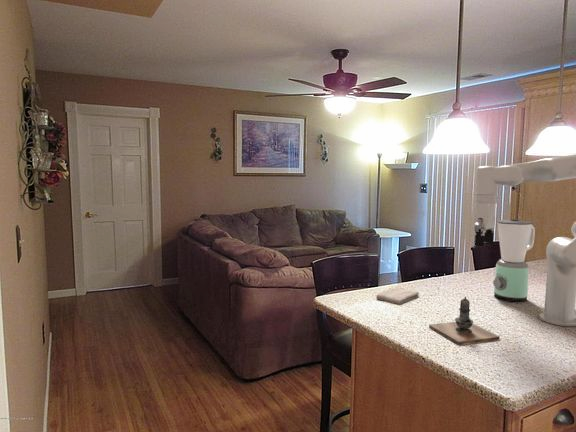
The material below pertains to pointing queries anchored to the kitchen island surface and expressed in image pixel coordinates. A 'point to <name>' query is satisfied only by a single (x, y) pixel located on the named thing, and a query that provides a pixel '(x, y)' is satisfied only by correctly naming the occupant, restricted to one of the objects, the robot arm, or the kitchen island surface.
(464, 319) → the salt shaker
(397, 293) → the washcloth
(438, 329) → the walnut board
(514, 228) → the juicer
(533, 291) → the kitchen island surface
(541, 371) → the kitchen island surface
